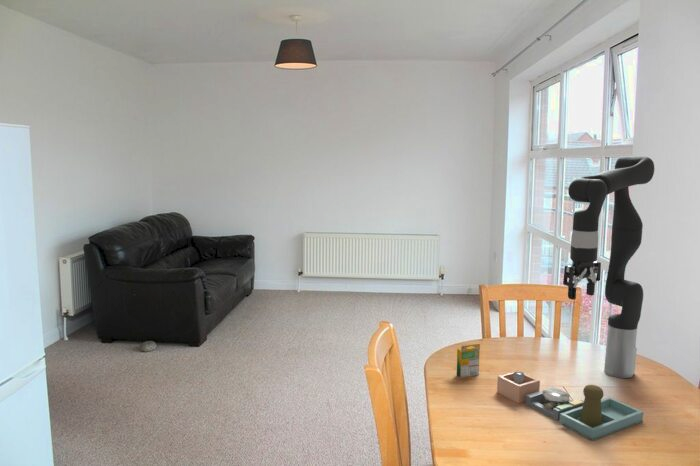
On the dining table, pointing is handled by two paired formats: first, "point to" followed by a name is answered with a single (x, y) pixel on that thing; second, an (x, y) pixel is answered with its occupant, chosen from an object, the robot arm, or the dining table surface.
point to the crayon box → (468, 360)
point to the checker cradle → (536, 399)
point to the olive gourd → (592, 406)
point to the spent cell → (518, 377)
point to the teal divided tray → (603, 419)
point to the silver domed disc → (555, 396)
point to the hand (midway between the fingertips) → (581, 297)
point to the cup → (517, 387)
